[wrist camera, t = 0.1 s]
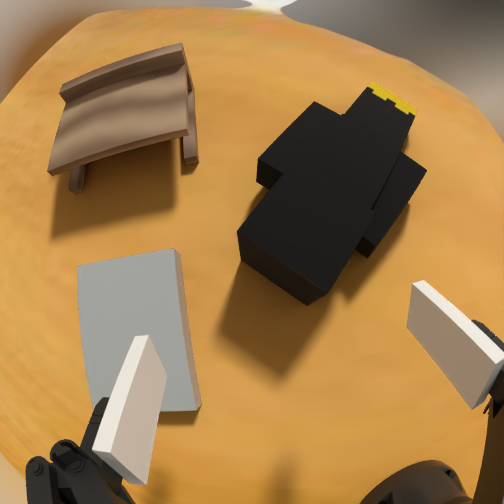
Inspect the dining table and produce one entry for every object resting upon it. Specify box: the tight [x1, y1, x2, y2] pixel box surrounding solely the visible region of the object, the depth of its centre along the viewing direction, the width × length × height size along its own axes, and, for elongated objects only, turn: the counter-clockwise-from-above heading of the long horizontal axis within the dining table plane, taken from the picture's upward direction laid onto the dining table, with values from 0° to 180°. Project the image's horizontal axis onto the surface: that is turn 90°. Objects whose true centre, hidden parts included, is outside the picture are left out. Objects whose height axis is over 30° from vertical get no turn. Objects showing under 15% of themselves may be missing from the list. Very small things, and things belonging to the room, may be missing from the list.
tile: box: [77, 248, 202, 411], centre depth 27 cm, size 16×12×3 cm
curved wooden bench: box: [47, 43, 199, 194], centre depth 30 cm, size 14×18×9 cm
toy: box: [237, 82, 427, 306], centre depth 29 cm, size 16×9×30 cm
